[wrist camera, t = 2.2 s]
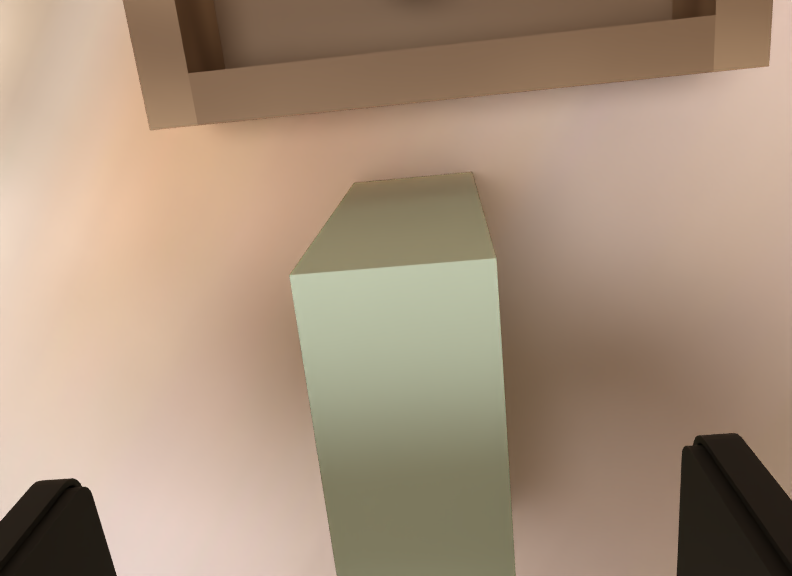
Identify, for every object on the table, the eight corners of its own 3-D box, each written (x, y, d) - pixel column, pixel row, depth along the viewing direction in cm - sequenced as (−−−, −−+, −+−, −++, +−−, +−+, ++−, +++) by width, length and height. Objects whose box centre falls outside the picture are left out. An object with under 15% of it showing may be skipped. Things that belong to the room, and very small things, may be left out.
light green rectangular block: (495, 507, 20) (527, 773, 13) (381, 513, 21) (347, 775, 13) (471, 171, 17) (496, 258, 10) (339, 183, 18) (262, 277, 10)
